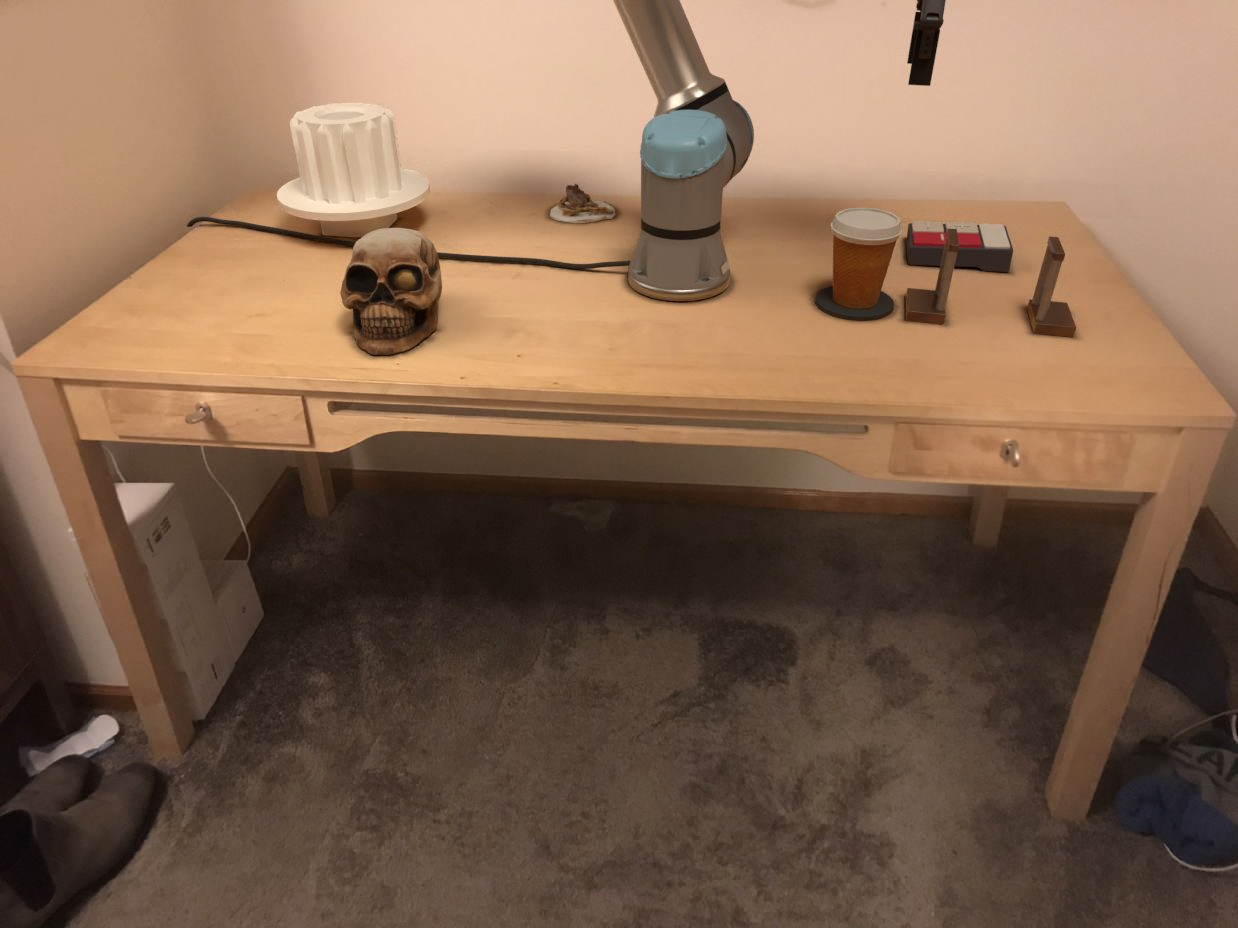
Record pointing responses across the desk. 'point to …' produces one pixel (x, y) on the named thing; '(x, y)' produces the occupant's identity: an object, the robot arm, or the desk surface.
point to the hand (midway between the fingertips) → (918, 74)
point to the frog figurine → (581, 208)
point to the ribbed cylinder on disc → (349, 170)
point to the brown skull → (392, 290)
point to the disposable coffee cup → (862, 254)
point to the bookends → (1040, 309)
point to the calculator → (960, 244)
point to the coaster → (832, 308)
